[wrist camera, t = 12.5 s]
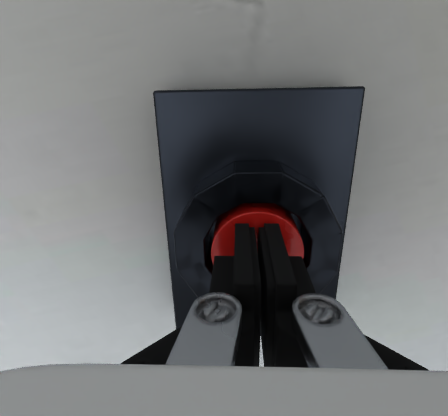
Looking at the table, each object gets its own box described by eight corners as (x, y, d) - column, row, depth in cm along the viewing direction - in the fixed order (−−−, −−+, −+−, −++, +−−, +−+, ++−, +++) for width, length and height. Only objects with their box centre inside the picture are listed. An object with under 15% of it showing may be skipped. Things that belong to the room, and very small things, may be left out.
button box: (165, 90, 14) (138, 91, 10) (346, 86, 13) (388, 85, 10) (183, 307, 18) (169, 364, 14) (320, 309, 18) (341, 368, 14)
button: (212, 196, 13) (209, 212, 11) (299, 195, 13) (308, 211, 11) (215, 269, 14) (212, 293, 12) (293, 270, 14) (300, 294, 12)
